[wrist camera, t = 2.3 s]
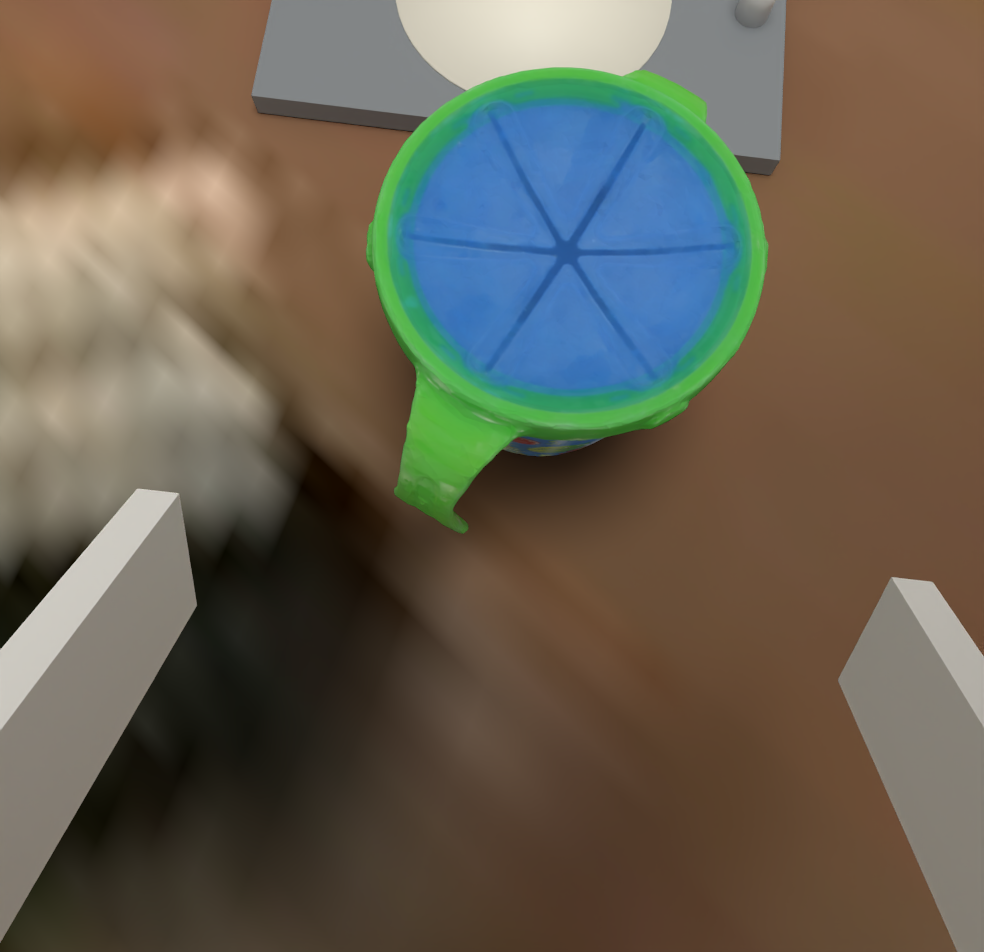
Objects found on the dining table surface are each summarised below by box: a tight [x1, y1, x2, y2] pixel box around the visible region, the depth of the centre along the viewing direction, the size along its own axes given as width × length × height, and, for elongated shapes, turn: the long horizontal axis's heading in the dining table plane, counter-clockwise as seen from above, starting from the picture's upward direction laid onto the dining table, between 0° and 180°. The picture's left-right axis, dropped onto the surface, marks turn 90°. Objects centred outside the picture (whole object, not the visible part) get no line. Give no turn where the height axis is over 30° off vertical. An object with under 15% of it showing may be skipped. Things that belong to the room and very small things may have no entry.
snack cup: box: [366, 67, 768, 534], centre depth 24 cm, size 16×10×10 cm
